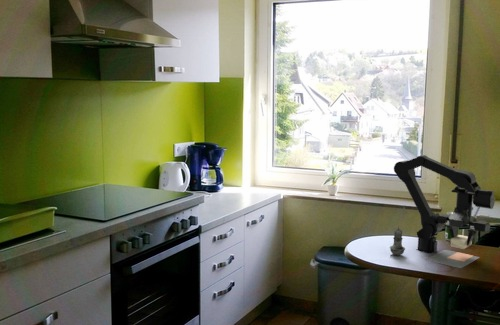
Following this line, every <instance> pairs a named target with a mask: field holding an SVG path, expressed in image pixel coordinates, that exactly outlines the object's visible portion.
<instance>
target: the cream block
mask: <svg viewBox="0 0 500 325" xmlns="http://www.w3.org/2000/svg"><path fill="white" fill-rule="evenodd" d="M467 240H468V235H462V234H458V236H456V237H454V238H452V239H451V241H450V247H452V248H455V249H456V248H457V249H461V250H465V249H467V248H469V247H471V246H472V244H473V243H472V242H473V240H472V241H471V243H470V245H469V246H467Z"/></svg>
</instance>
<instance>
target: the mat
mask: <svg viewBox="0 0 500 325" xmlns="http://www.w3.org/2000/svg"><path fill="white" fill-rule="evenodd" d="M480 258H481V257H480V256H475V255H472V254H467V253H464V252H459V251H458V252H457V251H453V250H449V249H443V250H441V251H439V252H437V253H435V254H432V255H431V256H428V257H426V258H424V260H425V261H430V262H434V263H438V264H442V265H445V266H449V267H454V268H458V269H463V268H464V267H466V266H468V265H470V264H471V263H473V262H475V261H476V260H478V259H480Z"/></svg>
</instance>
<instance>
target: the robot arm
mask: <svg viewBox="0 0 500 325" xmlns="http://www.w3.org/2000/svg"><path fill="white" fill-rule="evenodd" d="M420 167H422V168H425V169H427V170H429V171H431V172H434V173H435V174H438V175H440V176H442V177H445V178H447V179H448V180H449V181H451V182H452V183H453V184H454V185H456V186H455V187H454V188H453V189H452V190H451V191H450V192H451V193H456V200H455V201H456V203H455V204H456V205H455V207H454V209H453V210H454V211H452V212H453V213H452V214H451V215H447V213H443V214H440V213H439V212H436V213H435V212H433V210H432V209H431V207H430V205H429V203H428V201H427V198H426V197H425V195H424V193H423V191H422V189H421V186H420V185H419V183H418V181H417V179H416V178H417V177H416V170H415V169H417V168H420ZM393 171H394V173H395V175H396V176H397V177H398V179H399V180H400V181H401V182H403V184H405V187H406V188H407V191H408V192H409V194H410V197H411V199H412V200H413V202H414V205H415V206H416V209H417V211H418V213H419V214H420V224H421V227H422V228H421V229H419V230H418V231H416V235H417V240H418V241H417V248H416V249H415V250H416V251H418V252H423V253H427V254H434V253H435V252H437V251H438V240H437V236H438V233H439V232H442V230H443V228H444V227H445V228H446V227H447V228H448V229H449V230H450V233H451V236H452V238H454V237H456V236H457V227H458V228H459V229H460V228H462V227H463V226H467V227H469V229H467V232H468V234H467V236H468V240H467V246H469V245H470V243H471V241H472V242H473V239H474V238H475V235H476V234H477V233H478V232H484V233H486V232H487V231H489V230H490V229H491V224H490V222H489V221H485V220H477V221H473V217H472V213H473V210H474V207H473V205H474V206H475V207H476V208H482V209H483V208H484V209H490V210H493V209H494V206H495V203H496V197H495V194H494V193H495V192H494V190H491V189H489V190H487V189H482V188H481V186H480V185H479V183H478V181H476V180H477V178H476V175H475V174H474V173H473V172H471V171H467V170H464V169H457V168H453V167H452V166H449V165H447V164H445V163H442V162H439V161H438V160H435V159H434V158H430V157H428V156H427V155H425V154H423V155H419V156H416V157H414V158H411V159H408V160H407V159H406V160H401V161H397V162H396V163H394V166H393ZM470 246H471V245H470ZM470 246H469V247H470Z"/></svg>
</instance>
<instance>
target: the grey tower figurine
mask: <svg viewBox="0 0 500 325" xmlns="http://www.w3.org/2000/svg"><path fill="white" fill-rule="evenodd" d="M393 234H394V235H393V236H394V237H392V238H393V243H392V245H390V246H389V249H390V252H391V254H390V255H389V256H390V257H393V256H395V257H400V256H401V255H403V254H404V252H405V250H406V248H405V247H404V246H403V245H402V242H403V231H402V229H400V227H399V226H398V227H397V229H394V233H393Z"/></svg>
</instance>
